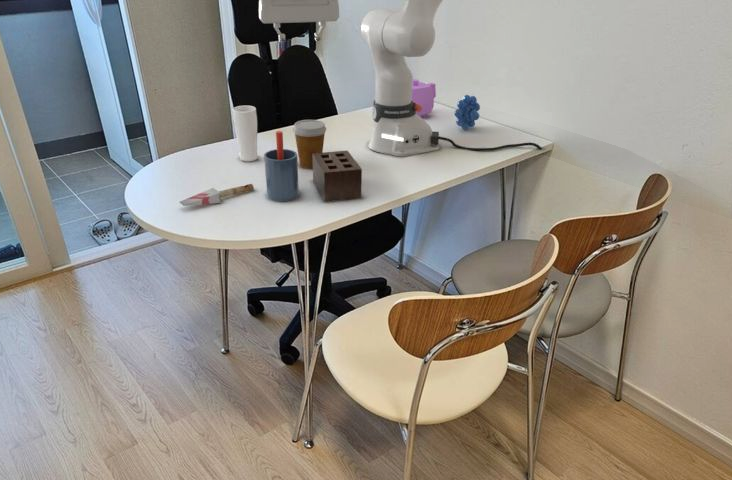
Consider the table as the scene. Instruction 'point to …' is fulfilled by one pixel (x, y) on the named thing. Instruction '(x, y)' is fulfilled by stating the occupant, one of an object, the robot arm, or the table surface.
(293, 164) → the tumbler
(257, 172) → the table surface
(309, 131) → the disposable coffee cup
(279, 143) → the straw
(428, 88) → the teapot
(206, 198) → the grey and wooden tool
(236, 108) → the drinking glass
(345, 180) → the caddy
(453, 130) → the table surface
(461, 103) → the grapes
